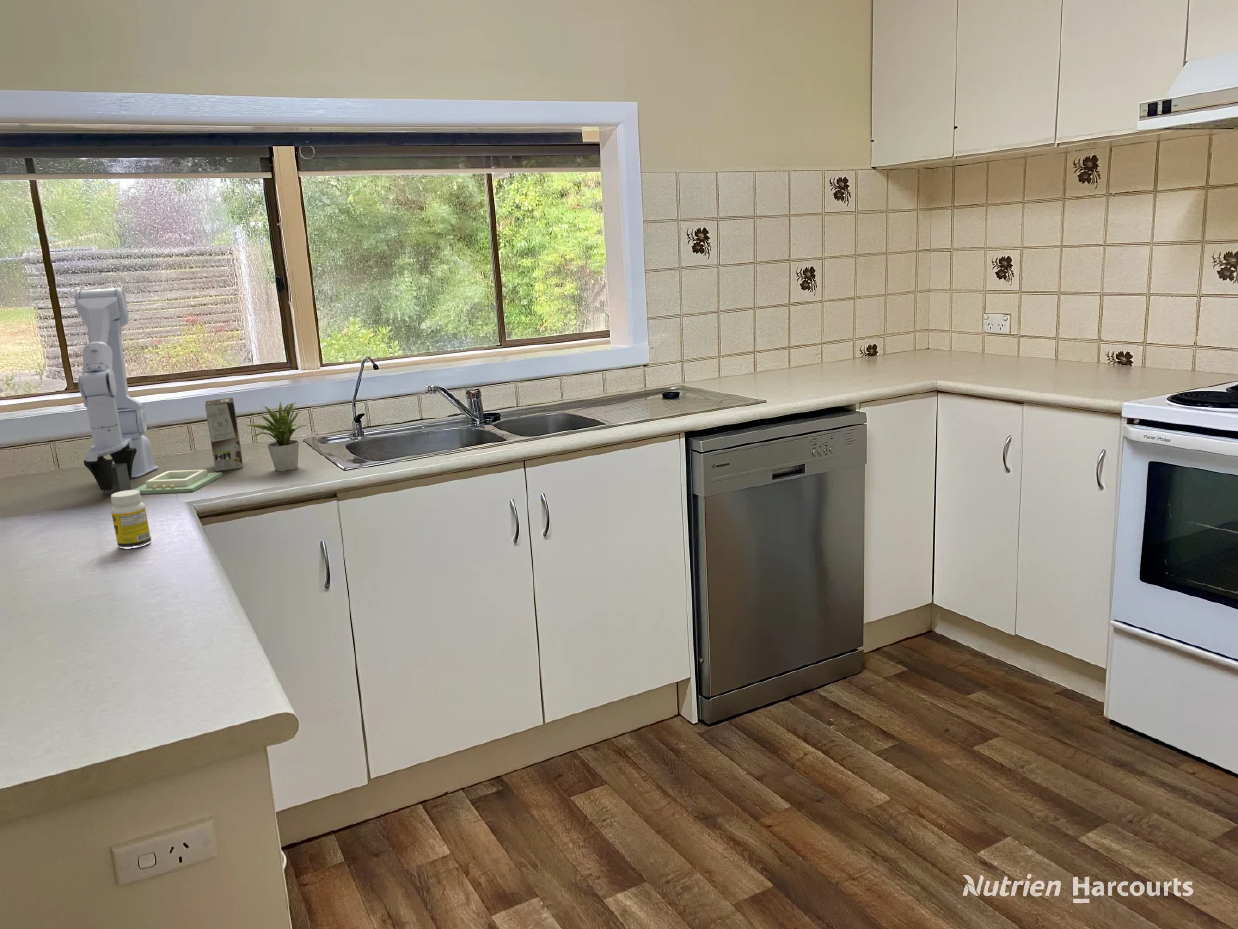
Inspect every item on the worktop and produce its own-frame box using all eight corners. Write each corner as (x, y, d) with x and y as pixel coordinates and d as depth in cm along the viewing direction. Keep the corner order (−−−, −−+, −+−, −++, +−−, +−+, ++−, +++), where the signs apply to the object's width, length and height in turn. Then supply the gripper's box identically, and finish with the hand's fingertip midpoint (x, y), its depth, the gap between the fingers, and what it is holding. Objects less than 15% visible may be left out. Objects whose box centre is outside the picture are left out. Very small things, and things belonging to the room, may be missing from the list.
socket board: (164, 478, 221) (163, 469, 220) (222, 475, 220) (221, 466, 220) (131, 494, 207) (129, 484, 207) (193, 491, 207) (191, 482, 206)
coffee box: (243, 468, 227) (233, 402, 223) (214, 471, 225) (204, 405, 221) (243, 460, 235) (233, 396, 231) (215, 464, 233) (205, 399, 229)
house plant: (272, 461, 233) (262, 395, 229) (326, 459, 231) (317, 393, 227) (244, 475, 219) (234, 406, 215) (302, 474, 217) (292, 404, 214)
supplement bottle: (120, 543, 172) (110, 491, 169) (153, 538, 174) (144, 487, 171) (116, 552, 167) (105, 499, 164) (150, 547, 169) (140, 494, 166)
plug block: (114, 489, 213) (109, 463, 211) (131, 489, 213) (126, 463, 211) (103, 494, 209) (98, 468, 207) (121, 493, 209) (116, 467, 207)
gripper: (106, 420, 214) (117, 477, 218) (67, 433, 200) (79, 494, 204) (136, 418, 214) (147, 476, 217) (99, 432, 200) (110, 493, 203)
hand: (116, 485), depth 210 cm, fingers open, 7 cm apart
